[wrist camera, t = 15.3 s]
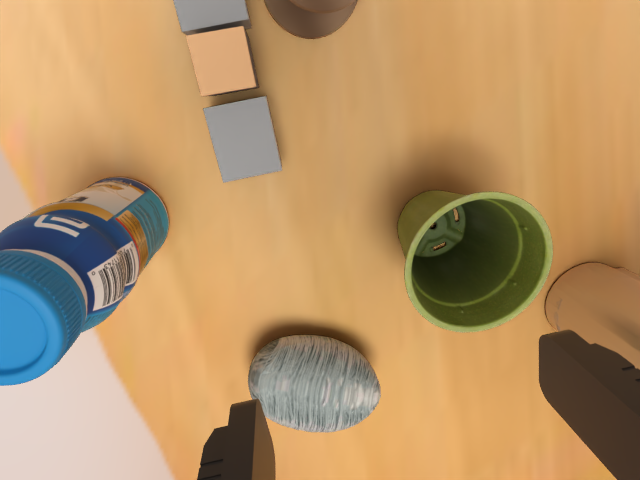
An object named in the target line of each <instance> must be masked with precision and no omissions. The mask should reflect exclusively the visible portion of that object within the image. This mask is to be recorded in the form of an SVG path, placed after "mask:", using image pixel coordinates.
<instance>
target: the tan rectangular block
mask: <svg viewBox="0 0 640 480" xmlns="http://www.w3.org/2000/svg"><path fill="white" fill-rule="evenodd" d="M186 38H187V42H188V46H189V50H190V54H191V58H192V62H193V66H194V70H195V74H196V78H197V82H198V85H199V89H200V93H201V96H216V95H221V94H227V93H232V92H238V91H243V90H249V89H255V88H259V84H258V80H257V75H256V70H255V65H254V60H253V55H252V51H251V46H250V41H249V37H248V35H247V33H246V31H245V29H244V27H243V26H239V27H234V28H228V29H222V30H216V31H210V32H205V33H199V34H193V35H187V36H186Z"/></svg>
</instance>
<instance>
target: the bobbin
mask: <svg viewBox="0 0 640 480" xmlns="http://www.w3.org/2000/svg"><path fill="white" fill-rule="evenodd" d="M265 3H266V6H267V8H268V10H269V12H270V14H271V16H272V17H273V18H274V20H275V21H276V22H277V23H278V24H279V25H280V26H281V27H282V28H283V29H284V30H286V31H287V32H289V33H291V34H293V35H295V36H298V37H301V38H307V39H315V38H321V37H325V36H327V35H329V34H331V33H333V32H335V31H336V30H337V29H339V28H340V27H341V26H342V25H343V24H344V23H345V22H346V21H347V19H348V18H349V17H350V15H351V14H352V12H353V10H354V8H355V5H356V3H357V0H265Z"/></svg>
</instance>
